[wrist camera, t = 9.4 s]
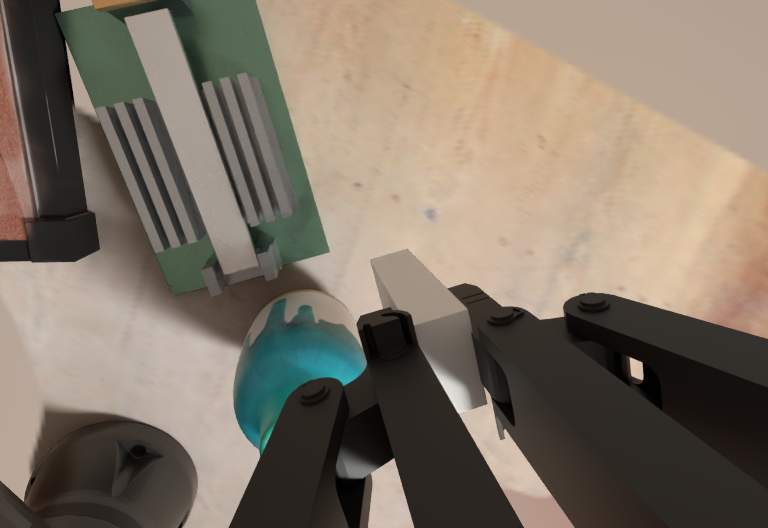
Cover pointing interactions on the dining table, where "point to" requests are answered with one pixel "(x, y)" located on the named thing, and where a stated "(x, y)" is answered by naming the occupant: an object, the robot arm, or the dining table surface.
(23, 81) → the brown labeled slab
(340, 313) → the vase
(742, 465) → the robot arm
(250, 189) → the heatsink
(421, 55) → the dining table surface
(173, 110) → the strap
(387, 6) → the dining table surface
